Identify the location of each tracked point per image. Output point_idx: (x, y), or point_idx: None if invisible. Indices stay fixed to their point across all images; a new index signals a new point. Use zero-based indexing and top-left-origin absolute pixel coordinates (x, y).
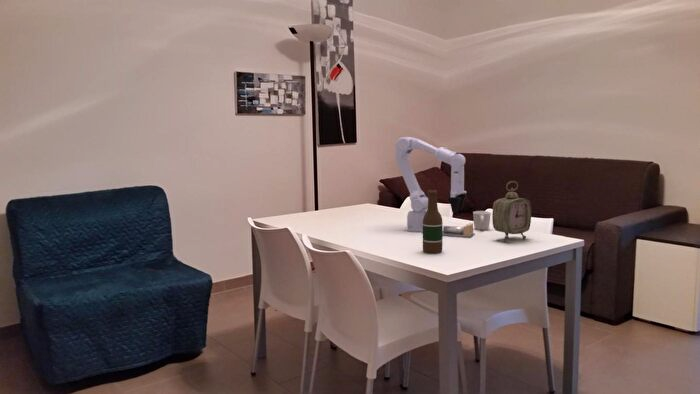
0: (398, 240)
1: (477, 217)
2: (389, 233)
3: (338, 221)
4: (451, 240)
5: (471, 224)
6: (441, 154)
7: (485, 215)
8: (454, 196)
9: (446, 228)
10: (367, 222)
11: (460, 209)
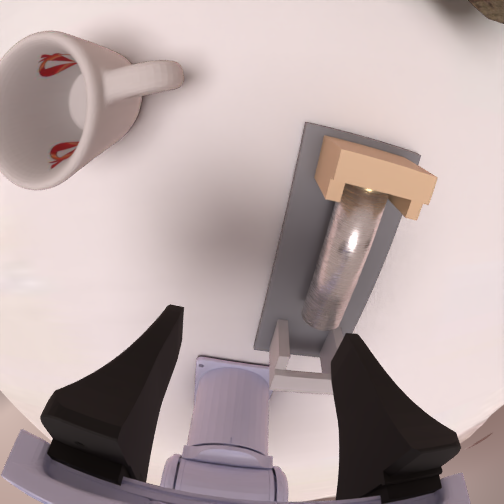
0: (422, 399)
1: (107, 129)
2: (311, 435)
3: None
4: (462, 250)
5: (393, 163)
6: None
7: (94, 56)
8: (461, 483)
9: (345, 309)
10: (158, 463)
11: (182, 321)
